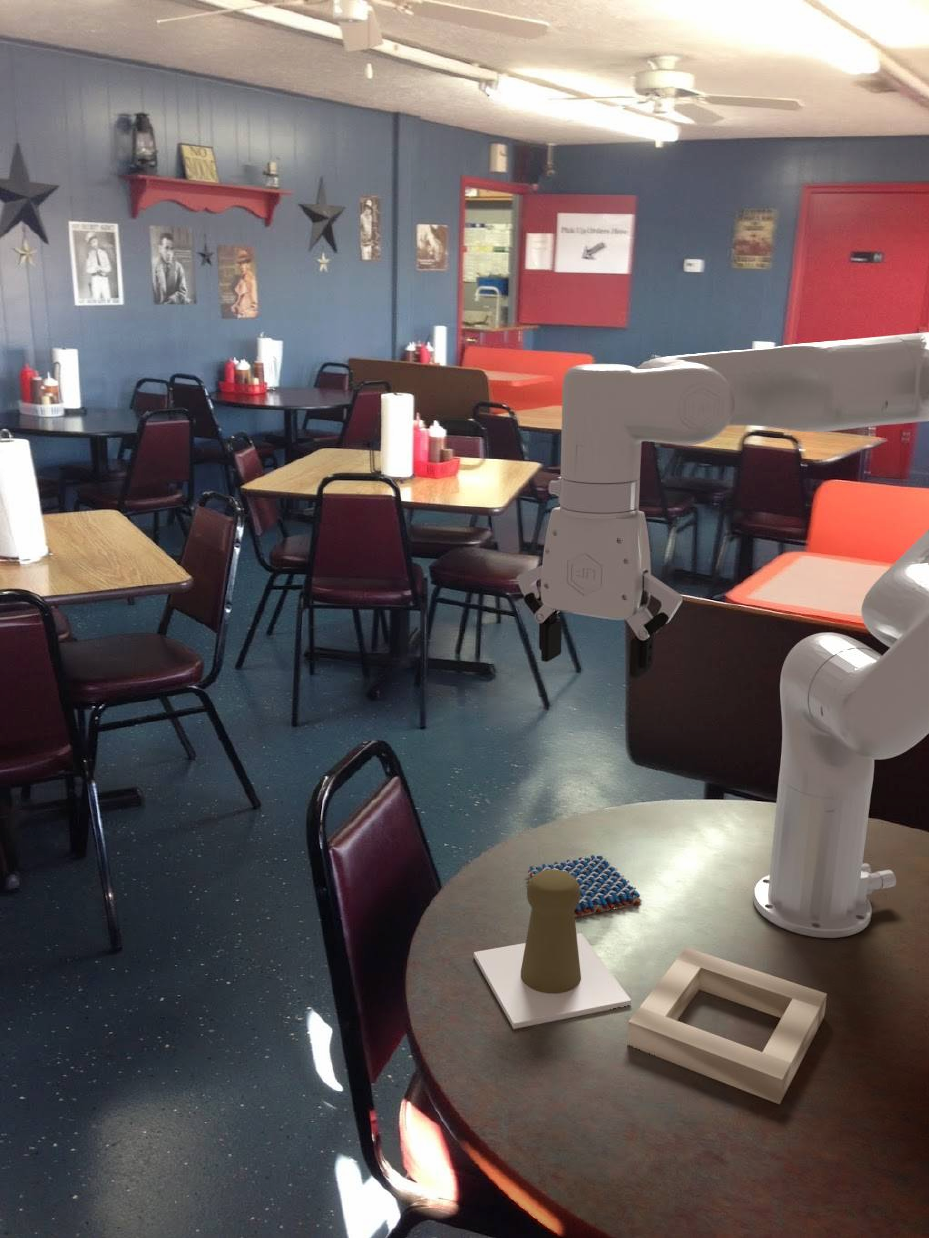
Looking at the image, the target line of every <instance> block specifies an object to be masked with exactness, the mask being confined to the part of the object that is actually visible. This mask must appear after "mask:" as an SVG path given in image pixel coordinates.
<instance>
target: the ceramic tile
mask: <svg viewBox="0 0 929 1238" xmlns="http://www.w3.org/2000/svg"><path fill="white" fill-rule="evenodd" d="M576 934H577V944H578V953H579V963H580V972H581V980H580V983H579V985H577V986H576V987H575V988H574V989H572V990H570V991H568V992H564V993H558V994H549V993H543V992H539V991H536V990H534V989H532V988H530V987H528V986H527V985H526V984H525V983H524V982H523V980H522V978H521V967H522V961H523V956H524V950H525V944H526V942H523V943H518V944H512V945H506V946H501V947H495V948H490V949H484V950H479V951H474V952H473V958H474V960H475V962H476V965H477V966H478V967H479V969H480V971H481V973H482V975H483V977H484V978H485V980H486V981H487V983H488V985H489V987H490V989H491V992H492V993H493V994H494V997H495V998H496V1000H497V1002H498V1003H499V1005H500V1008H501V1009H502V1011H503V1012H504V1014H505V1016H506V1018H507V1019H508V1021H509V1023H510V1025H511V1027H512V1029H513V1030H516V1029H521V1028H526V1027H530V1026H537V1025H540V1024H545V1023H550V1022H555V1021H560V1020H565V1019H570V1018H575V1017H580V1016H586V1015H591V1014H596V1013H600V1012H605V1011H610V1009H611V1010H614V1009H613V1008H616V1009H618V1008H617V1007H621V1008H625V1007H624V1006H626V1007H628V1006H627V1005H631V1006H632V999H631V998H630V996H629V995H628V994H627V993H626V991H625V990H624V988H623V987H622V986H621V984H620V983H619V982H618V980H617V979H616V978H615V977H614V975H613V974H612V972H611V971H610V970H609V968H608V967H607V965H606V964H605V963H604V962H603V961H602V958H600V956H599V955H598V954H597V952H596V951H595V949H594V948H593V947H592V945H591V944H590V942H588V940H587V939H586V938H585V936H584V935H583V933H582V932H581V933H576Z"/></svg>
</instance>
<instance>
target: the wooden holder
mask: <svg viewBox="0 0 929 1238" xmlns="http://www.w3.org/2000/svg"><path fill="white" fill-rule="evenodd" d="M699 991H702V992H705V993H708V994H711V995H714V996H716V997H719V998H722V999H726V1000H728V1001H731V1002H733V1003H736V1004H738V1005H742V1006H745V1007H747V1008H751V1009H754V1010H757V1011H759V1012H762V1013H766V1014H767V1015H771V1016H774V1017H777V1018H780V1020H779V1022H778V1024H777V1025H776V1028H775V1029H774V1030H773V1032H772V1034H771V1036H770V1038H769V1039H768V1042H767V1043H766V1045H765V1047H764V1049H763V1051H760V1050H758V1049H755V1048H752V1047H750V1046H747V1045H744V1044H741V1043H738V1042H735V1041H733V1040H730V1039H727V1038H725V1037H722V1036H720V1035H717V1034H713V1033H712V1032H708V1031H706V1030H704V1029H700V1028H698V1027H695V1026H692V1025H689V1024H687V1023H685V1022H682V1021H678V1020H679V1018H681V1016H682V1015H683V1013H684V1011H685V1010H686V1009H687V1008H688V1006H689V1005H690V1003H691V1002H692V1000H693V999H694V997H695V996H696V995H697V993H698V992H699ZM827 996H828V994H827V993H826V992H822V991H820V990H817V989H814V988H810V987H807V986H804V985H801V984H798V983H795V982H793V981H789V980H786V979H785V978H784V979H783V978H781V977H777V976H774V975H771V974H769V973H766V972H762V971H760V970H756V969H753V968H750V967H746V966H744V965H741V964H739V963H734V962H731V961H729V960H727V959H726V960H725V959H724V958H720V957H716V956H715V955H710V954H707V953H704V952H701V951H698V950H696V949H693V948H689V947H685V948H684V949H683V951H681V953H680V955H678V957H677V958H676V960H675V961H674V962H673V964H672V965H671V966H670V967H669V968H668V970H667V971H666V973H665V974H664V975H663V976H662V978H661V979H660V980H659V982H658V983H657V984H656V985H655V987H654V988H653V989H652V990H651V992H650V993H649V994H648V996H647V997H646V998H645V1000H644V1001H643V1002H642V1003H641V1004H640V1005H639V1007H638V1009H637V1010H636V1011H635V1013H633V1015H632V1016H631V1018H630V1019H629V1020H628V1025H627V1041H626V1042H627V1043H626V1045H627V1044H628V1045H627V1046H629V1045H630V1046H629V1047H631V1046H633V1047H632V1048H634V1049H636V1048H637V1049H636V1050H639V1049H640V1050H639V1051H642V1052H644V1053H647V1054H649V1053H650V1055H651V1056H654V1055H655V1056H654V1057H657V1058H659V1059H662V1060H665V1061H668V1062H670V1063H673V1064H674V1065H678V1066H680V1067H681V1068H682V1067H683V1068H685V1069H688V1070H691V1071H693V1072H695V1073H698V1074H701V1075H703V1076H706V1077H708V1078H709V1079H710V1078H711V1079H713V1080H716V1081H719V1082H721V1083H724V1084H726V1085H728V1086H731V1087H734V1088H736V1089H740V1090H741V1091H744V1092H747V1093H748V1094H752V1095H755V1096H757V1097H759V1098H762V1099H765V1100H767V1101H770V1102H772V1103H775V1104H777V1105H781V1103H782V1100H783V1099H784V1097H785V1095H786V1093H787V1091H788V1089H789V1086H790V1085H791V1083H792V1081H793V1079H794V1077H795V1075H796V1073H797V1071H798V1070H799V1067H800V1065H801V1063H802V1061H803V1059H804V1057H805V1055H806V1053H807V1051H808V1049H809V1047H810V1046H811V1044H812V1042H813V1040H814V1038H815V1035H816V1034H817V1032H818V1029H819V1027H820V1026H821V1024H822V1021H823V1020H824V1018H825V1014H826V1013H825V1012H826V1006H827V1005H826V1004H827Z"/></svg>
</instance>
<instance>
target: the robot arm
mask: <svg viewBox="0 0 929 1238" xmlns="http://www.w3.org/2000/svg"><path fill="white" fill-rule="evenodd" d="M562 379H563V380H562V390H561V391H562V392H561V393H562V395H561V441H560V442H561V443H560V448H561V449H560V476H559V477H558V480H550V482H549V483H548V489H547V490H548V493H549V494H550V495H555V496H557V497H558V499H557V501H558V502H557V503H558V504H559V506H558V507H554V508H552V509H551V512H550V515H549V520H548V523H547V528H546V534H545V539H544V547H543V555H542V564H541V565H540V566H537V567H534V568H532V569H529V570H527V571H525V572H523V573H520V574H519V575H517V576H516V582H517V584H518V586H519V590H520V592H521V594H522V595H523V596H524V597H523V601H524V604H526V606H527V607H528V608H529V610H530V611H531V613H533V615H534V620H535V621H536V622H537V623H538V624H539V625H538V627H539V628H538V630H539V632H538V648H539V650H540V651H541V654H540V655H541V657H540V660H541V661H542V662H544V663H545V662H546V663H548V662H550V661H552V660H553V659H555V658H557V657H558V656H560V655H561V653H562V636H563V635H562V634H563V633H562V632H563V625H562V624H563V621H562V618H561V616H558V613H560V612H562V613H567V614H574V615H580V616H586V617H593V618H600V619H606V620H612V621H614V620H615V621H626V622H627V624H628V625H629V627H630V628H631V629H632V631H633V633H634V634H635V637H633V638H632V639H631V641H630V651H629V652H630V655H629V677H631V679H639V678H640V677H642V676H643V675H645V674H646V673H647V672H648V670H649V669H651V667H652V665H653V663H654V662H653V659H654V639H655V637H654V636H655V634H656V633H658V632H659V631H660V630H661V629H663V628H664V627H665V626H666V625H667V624H669V623H670V622H672V620H673V617H674V615H675V614H676V612H677V611H678V609H679V608H680V606H681V605H682V603H683V599H684V598H683V596H682V594H680V593H679V592H677V591H675V590H674V589H673V588H671V587H670V586H668V585H667V584H665V583H664V582H663V581H661V580H659V578H657V577H655V576H654V575H652V572H651V571H652V570H651V569H652V568H651V567H652V566H651V550H650V540H649V533H648V532H649V531H648V526H647V525H648V524H647V519H646V514H645V511H641V510H639V509H640V508H639V506H640V488H641V487H640V486H641V485H640V483H641V478H640V477H641V458H642V442H652V443H663V444H670V445H676V446H697V445H700V444H705V443H707V442H709V441H711V440H714V439H715V438H717V437H718V436H719V435H720V434H722V432H724V431H725V430H726V429H727V427H728V426H729V427H730V426H750V427H752V426H754V427H755V426H756V427H767V428H773V429H779V430H780V429H782V430H786V431H794V432H795V431H796V432H815V433H816V432H817V433H819V432H824V433H825V432H836V431H843V430H853V429H858V428H869V427H877V426H886V425H901V424H910V423H911V424H912V423H921V422H924V423H925V422H929V331H927V332H919V333H918V332H915V333H905V334H894V335H884V336H875V337H874V336H873V337H863V338H852V339H845V340H844V339H843V340H842V339H841V340H840V339H839V340H828V341H820V342H806V343H797V344H787V345H781V346H773V347H767V348H765V347H764V348H755V349H753V348H752V349H743V350H741V349H740V350H729V351H719V352H718V351H716V352H704V353H703V352H702V353H695V354H692V353H691V354H683V355H682V354H681V355H672V356H662V357H656V358H652V359H650V360H647V361H645V362H643V363H642V364H640V365H639V366H637V367H635V366H631V365H628V364H619V363H609V364H608V363H588V364H587V363H586V364H579V365H575V366H574V365H573V366H572V367H570V368H569V369H568V370H567V371H565V374H564V376H563V378H562ZM539 580H540V591H539V590H538V585H537V581H539ZM651 596H652V597H654V599H656V600H657V601H659V602H660V604H661V606H660V608H659V611H658V612H657V614H656V615H655V616H653V615H652V613H651V612H650V610H649V608H648V606H649V604H650V601H651V600H650V599H651ZM860 612H861V617H862V621H863V624H864V626H865V627H866V629H867V631H868V632H870V634H871V635H872V636H873V637H874V638H876V639H877V640H878V641H879V642H881V643H882V644H883V645H885V646H886V647H888V650H887V651H886V652H884V653H883V655H882V654H881V653H880V652H878V651H876V650H874V649H873V648H871V647H870V646H868V645H866V644H864V643H863V642H861V641H859V640H857V639H855V638H853V637H850V636H848V635H846V634H842V633H837V632H819V633H818V632H817V633H814V634H812V635H809V636H806V637H805V638H802V639H801V640H800V641H799V642H797V643H796V644H795V645H794V647H792V648H791V649H790V651H789V652H788V654H787V656H786V657H785V660H784V662H783V665H782V668H781V673H780V683H779V695H780V697H779V698H780V706H781V707H780V711H781V727H782V729H781V731H782V734H781V735H782V737H781V738H782V740H781V755H780V756H781V757H780V765H779V766H780V767H779V772H778V773H779V775H778V783H777V785H778V786H777V794H776V796H777V797H776V806H775V815H774V824H773V825H774V827H773V836H772V848H771V857H770V867H769V874H768V875H767V876H764V877H762V878H761V879H759V880H758V881H757V882H756V884H755V885H754V888H753V895H752V896H753V897H752V901H753V904H754V907H755V908H756V909H757V912H759V913H760V914H761V915H762V917H764V918H766V920H768V921H769V922H771V923H773V924H774V925H776V926H778V927H779V928H782V929H784V930H787V931H789V932H792V933H796V934H797V935H798V934H799V935H803V936H808V937H812V938H813V937H814V938H822V939H836V938H844V937H849V936H852V935H856V934H858V933H860V932H861V931H864V930H865V928H867V927H868V925H869V924H870V922H871V918H872V913H873V911H872V905H871V902H870V900H869V899H868V898H867V895H870V894H872V893H873V892H874V890H882V889H888V888H889V889H890V888H892V887H895V886H896V885H897V878H896V875H895V873H894V872H893V871H892V870H891V869H884V870H879V871H875V872H872V868H871V865H870V864H869V863H867V862H864V863H863V860H864V853H865V846H866V845H865V843H866V838H867V836H866V835H867V829H868V819H869V814H870V813H869V812H870V811H869V810H870V806H871V805H870V804H871V795H872V789H873V782H874V774H875V760H887V759H891V758H894V757H897V756H900V755H902V754H903V753H905V752H907V751H909V750H911V748H913V747H915V746H916V745H917V744H918V743H920V742H921V741H922V740H923V739H924V738H925V737H926V736H927V735H929V528H927V530H926V531H925V532H924V533H923V534H922V535H921V536H920V537H919V538H918V539H917V540H916V541H915V542H914V543H913V544H912V545H911V546H910V547H909V548H908V549H907V550H906V551H905V552H904V553H903V554H902V555H901V556H900V557H899V558H898V559H897V560H896V561H895V562H894V563H893V564H892V565H891V566H890V567H889V568H888V569H887V570H886V571H885V572H883V575H881V576H880V577H879V578H878V579H877V580H876V581H875V582H874V584H873V585H872V586H871V587H870V588H869V590H868V591H867V593H865V595H864V599H863V601H862V604H861V611H860Z"/></svg>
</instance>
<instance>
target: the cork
mask: <svg viewBox="0 0 929 1238" xmlns="http://www.w3.org/2000/svg"><path fill="white" fill-rule="evenodd" d="M529 880H530V881H529ZM529 880H528V884H527V886H526V897H527V902H528V904H529V905H530V908H531V912H530V918H529V922H528V927H527V933H526V940H525V943H526V944H525V950H524V956H523V961H522V967H521V978H522V980H523V982H524V983H525V984H526V985H527V986H528V987H530V988H532V989H534V990H536V991H539V992H543V993H549V994H558V993H564V992H568V991H570V990H572V989H574V988H575V987H576V986H577V985H579V983H580V980H581V972H580V963H579V953H578V944H577V934H578V933H577V925H576V917H575V915H574V913H575V911H574V910H575V909H576V908H577V906H578V904H579V901H580V887H579V883H578V882H577V880H576V879H575V877H574V876H572V875H571V874H570V873H567V872H565V871H562V870H556V869H549V870H543V871H540V872H537V873H536V874H535V875H533V877H532V878H531V879H529Z"/></svg>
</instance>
